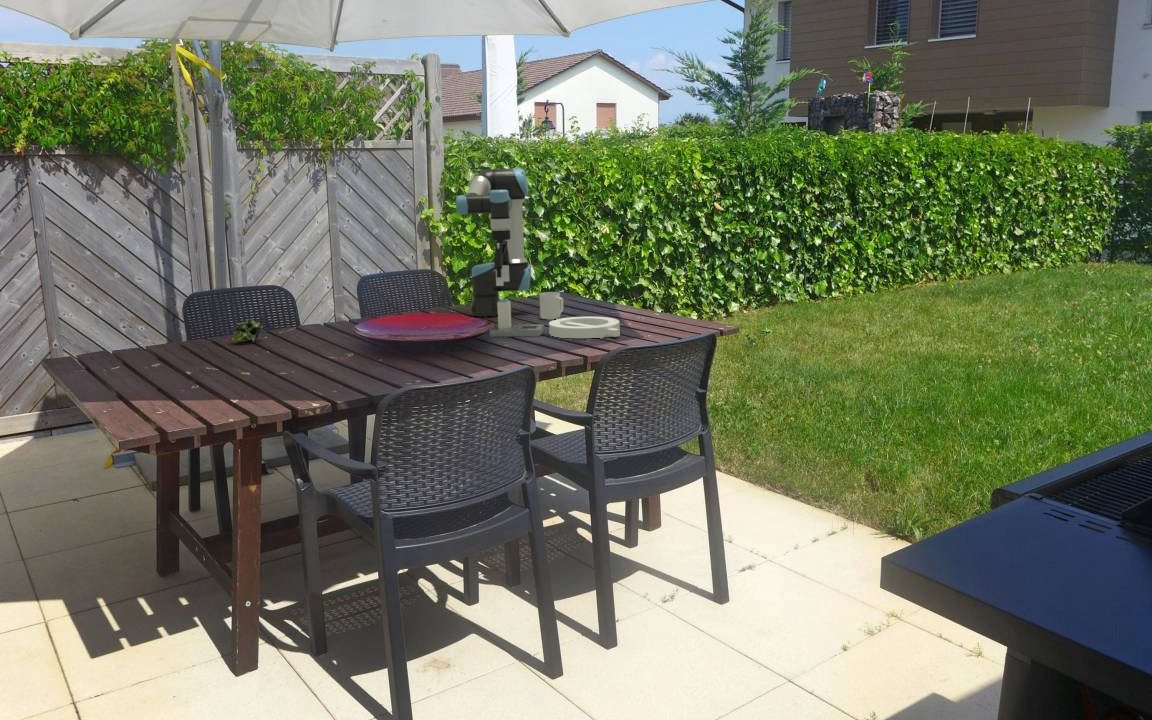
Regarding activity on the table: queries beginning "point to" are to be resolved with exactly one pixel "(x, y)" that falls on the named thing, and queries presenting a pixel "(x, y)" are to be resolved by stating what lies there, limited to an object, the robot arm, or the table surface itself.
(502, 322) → the white tall block
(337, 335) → the table surface
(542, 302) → the mug
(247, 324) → the green leafy plant
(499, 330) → the panel
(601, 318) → the white circle with bar
